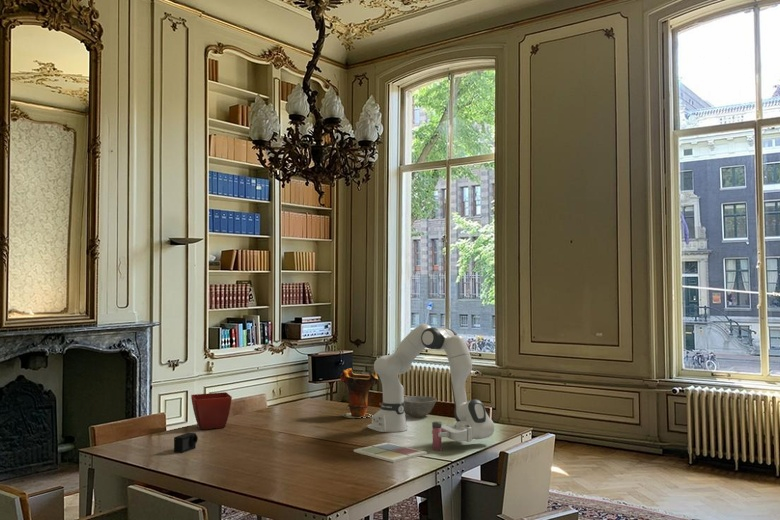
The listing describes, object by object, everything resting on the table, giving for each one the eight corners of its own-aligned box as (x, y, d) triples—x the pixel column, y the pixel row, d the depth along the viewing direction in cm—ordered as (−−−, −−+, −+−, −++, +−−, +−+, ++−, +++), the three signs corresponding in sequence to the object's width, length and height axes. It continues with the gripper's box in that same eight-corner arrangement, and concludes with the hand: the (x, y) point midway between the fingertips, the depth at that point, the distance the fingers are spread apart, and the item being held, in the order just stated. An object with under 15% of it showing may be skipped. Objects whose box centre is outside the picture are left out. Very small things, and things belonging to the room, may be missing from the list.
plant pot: (194, 432, 331) (195, 399, 332) (190, 425, 349) (190, 394, 350) (232, 428, 339) (232, 396, 340) (226, 422, 356) (226, 392, 357)
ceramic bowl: (400, 412, 383) (399, 395, 384) (438, 413, 380) (438, 396, 381) (395, 419, 361) (395, 401, 362) (435, 420, 358) (435, 402, 359)
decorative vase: (378, 419, 362) (377, 370, 363) (338, 419, 362) (338, 371, 364) (379, 413, 382) (378, 367, 384) (341, 413, 382) (341, 367, 384)
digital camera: (184, 453, 285) (184, 437, 285) (173, 452, 287) (174, 437, 287) (197, 448, 295) (198, 433, 295) (187, 447, 296) (188, 432, 297)
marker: (430, 449, 289) (430, 422, 289) (436, 447, 291) (436, 421, 292) (437, 450, 285) (437, 423, 286) (443, 449, 288) (443, 422, 289)
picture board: (353, 451, 285) (353, 449, 285) (386, 444, 298) (386, 442, 299) (393, 462, 266) (393, 459, 266) (426, 454, 279) (426, 451, 280)
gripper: (451, 420, 304) (425, 422, 298) (472, 428, 285) (445, 430, 279) (451, 433, 303) (425, 436, 298) (473, 442, 284) (445, 445, 279)
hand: (435, 433), depth 289 cm, fingers closed on marker, 4 cm apart
